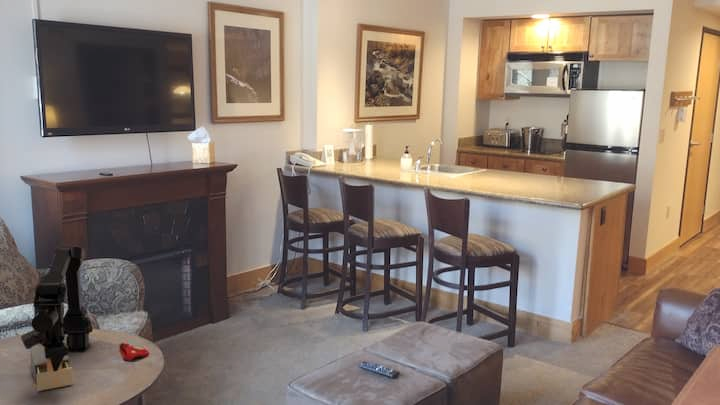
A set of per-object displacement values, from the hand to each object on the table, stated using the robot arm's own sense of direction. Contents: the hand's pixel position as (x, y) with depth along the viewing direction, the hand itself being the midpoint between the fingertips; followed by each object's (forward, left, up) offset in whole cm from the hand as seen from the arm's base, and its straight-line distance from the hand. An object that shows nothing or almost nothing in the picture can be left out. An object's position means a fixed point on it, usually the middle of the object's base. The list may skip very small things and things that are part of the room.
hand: (54, 367), depth 189 cm
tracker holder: (-15, -27, -8) cm, 32 cm away
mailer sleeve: (+7, -12, -7) cm, 16 cm away
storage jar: (+18, -37, -7) cm, 42 cm away
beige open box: (+3, -6, -6) cm, 9 cm away
